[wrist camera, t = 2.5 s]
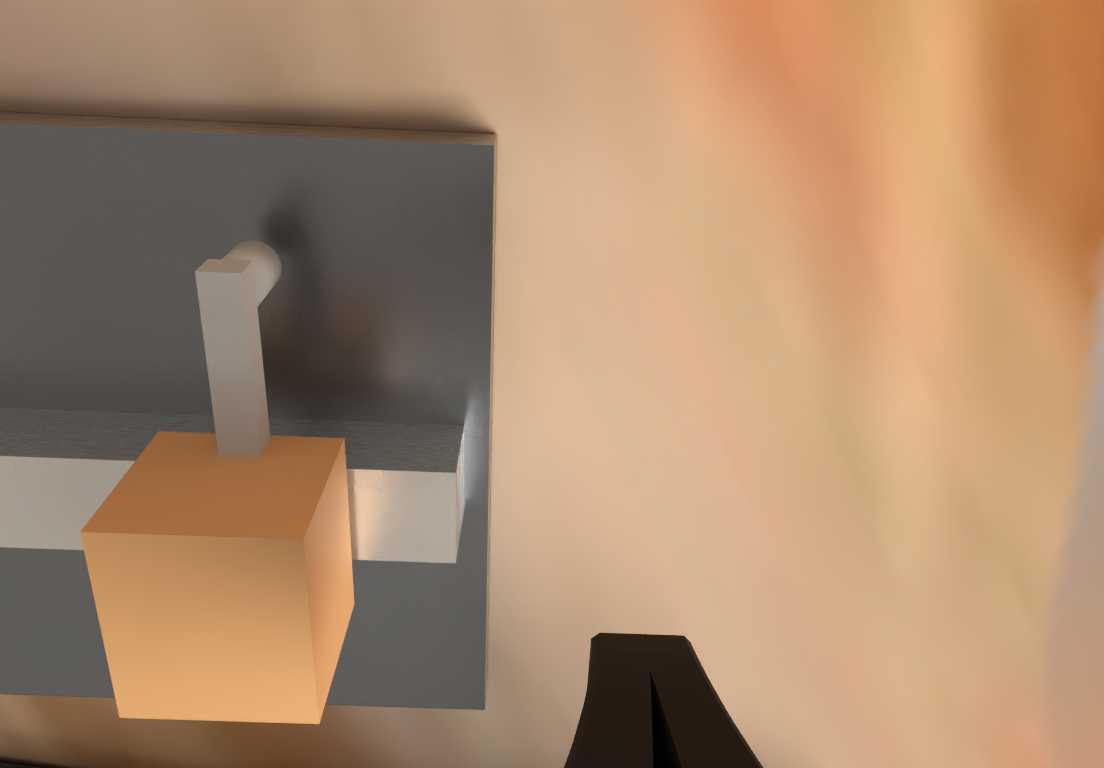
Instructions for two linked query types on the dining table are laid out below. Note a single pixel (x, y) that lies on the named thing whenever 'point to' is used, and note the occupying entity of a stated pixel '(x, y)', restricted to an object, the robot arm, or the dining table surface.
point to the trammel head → (226, 542)
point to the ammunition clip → (16, 766)
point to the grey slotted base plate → (288, 361)
